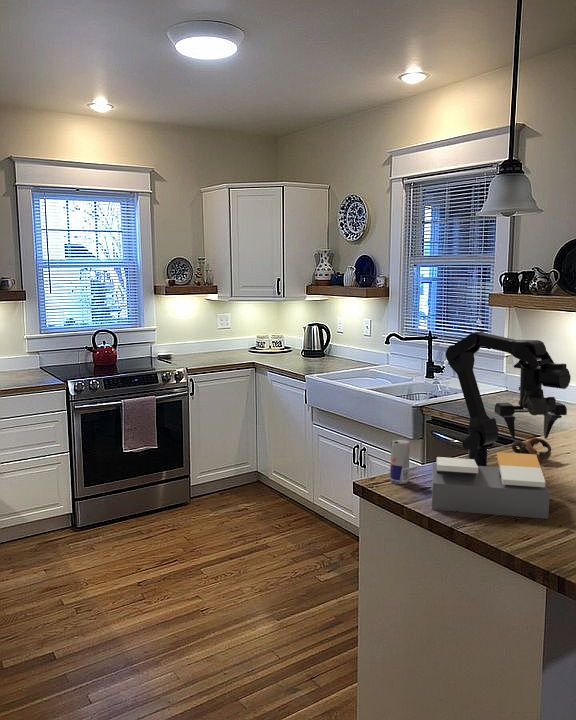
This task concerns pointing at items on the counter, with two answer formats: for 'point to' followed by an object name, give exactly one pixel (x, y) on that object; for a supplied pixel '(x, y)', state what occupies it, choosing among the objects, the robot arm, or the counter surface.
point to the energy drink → (399, 461)
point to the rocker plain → (456, 465)
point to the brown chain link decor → (528, 448)
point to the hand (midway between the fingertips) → (529, 438)
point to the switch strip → (487, 494)
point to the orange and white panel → (520, 469)
